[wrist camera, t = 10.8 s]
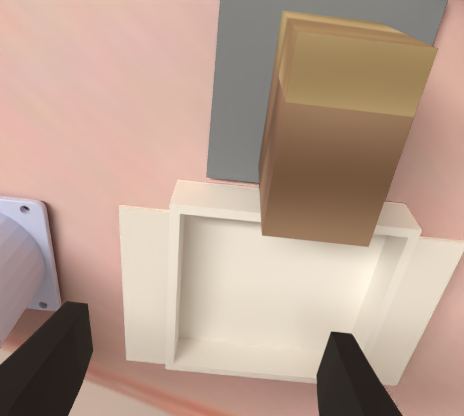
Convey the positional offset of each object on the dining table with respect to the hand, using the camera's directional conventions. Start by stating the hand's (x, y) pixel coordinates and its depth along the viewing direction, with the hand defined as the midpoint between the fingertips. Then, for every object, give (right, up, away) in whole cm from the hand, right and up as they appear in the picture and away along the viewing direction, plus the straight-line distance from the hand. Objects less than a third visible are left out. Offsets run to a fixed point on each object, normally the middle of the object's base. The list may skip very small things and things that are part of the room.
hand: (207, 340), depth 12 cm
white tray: (+3, 0, +12) cm, 13 cm away
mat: (+4, +9, +7) cm, 12 cm away
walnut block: (+4, +9, +6) cm, 12 cm away
